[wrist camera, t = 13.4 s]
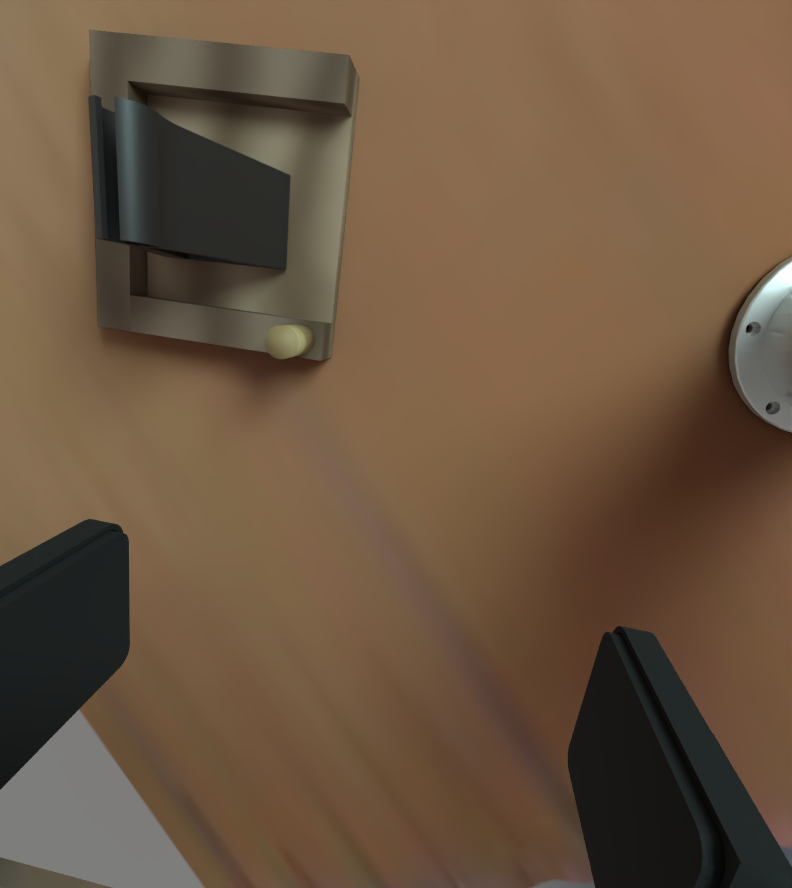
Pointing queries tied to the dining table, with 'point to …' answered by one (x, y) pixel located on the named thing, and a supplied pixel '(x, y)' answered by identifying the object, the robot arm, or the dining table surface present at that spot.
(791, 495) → the dining table surface
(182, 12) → the dining table surface
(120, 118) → the phone stand
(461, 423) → the dining table surface
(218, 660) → the dining table surface
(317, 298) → the board
